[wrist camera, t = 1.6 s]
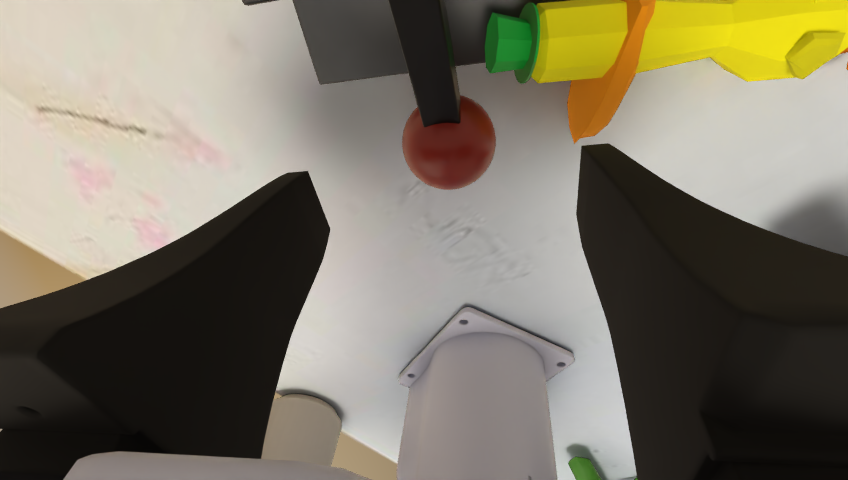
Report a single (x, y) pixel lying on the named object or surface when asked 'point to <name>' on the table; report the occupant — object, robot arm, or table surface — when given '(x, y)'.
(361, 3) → the bracket
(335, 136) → the table surface
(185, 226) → the table surface
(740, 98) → the table surface
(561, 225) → the table surface
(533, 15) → the toy figure
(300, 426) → the beverage can
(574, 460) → the praying mantis
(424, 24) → the lever
